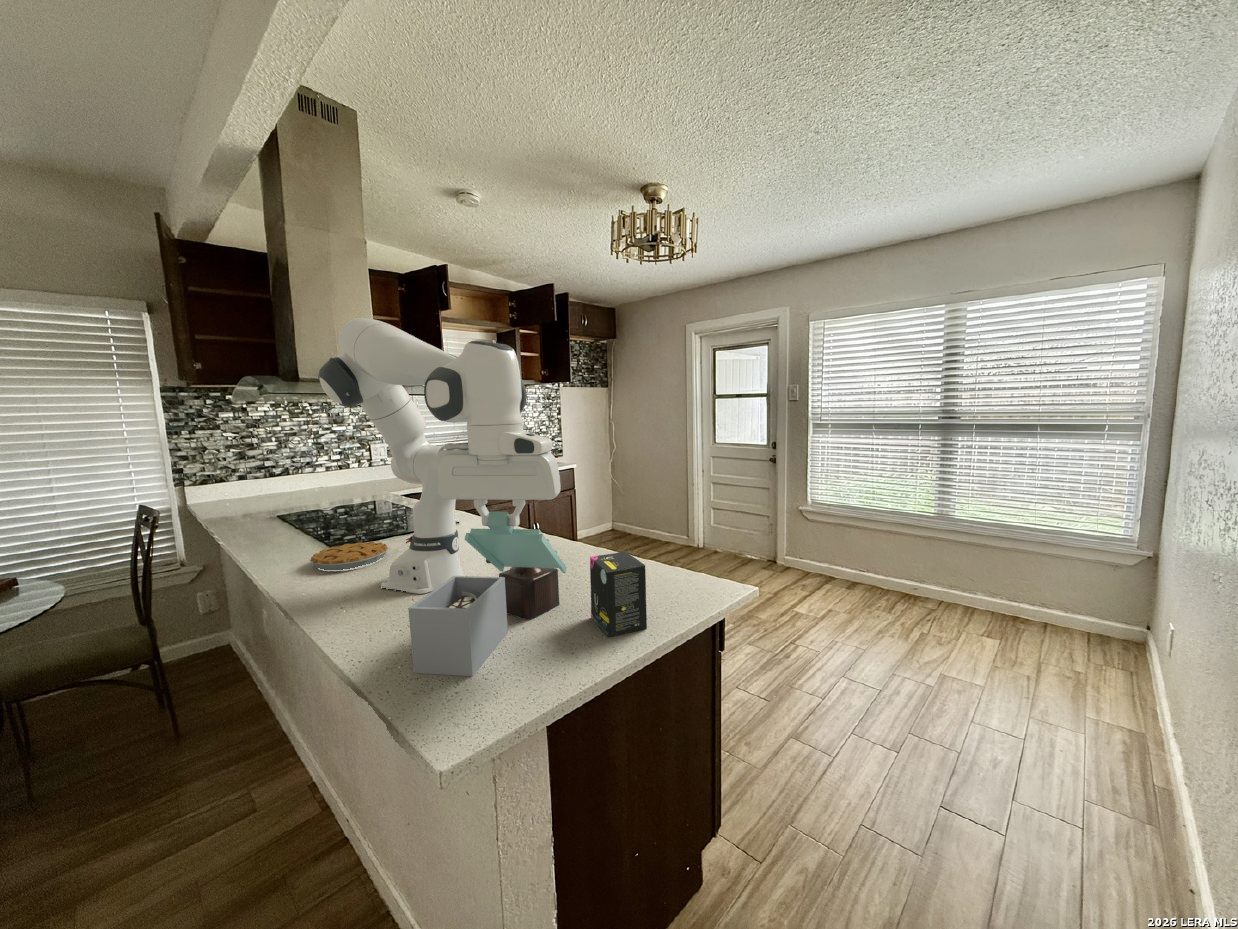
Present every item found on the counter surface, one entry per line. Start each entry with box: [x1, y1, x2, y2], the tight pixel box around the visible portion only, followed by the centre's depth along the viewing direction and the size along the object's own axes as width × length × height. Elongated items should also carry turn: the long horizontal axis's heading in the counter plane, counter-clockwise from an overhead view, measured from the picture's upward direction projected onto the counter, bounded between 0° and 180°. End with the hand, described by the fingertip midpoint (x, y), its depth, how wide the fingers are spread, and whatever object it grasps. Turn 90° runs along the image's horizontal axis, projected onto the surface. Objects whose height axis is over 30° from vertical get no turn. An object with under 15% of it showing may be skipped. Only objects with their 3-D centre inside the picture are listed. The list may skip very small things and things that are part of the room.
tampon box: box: [589, 551, 648, 638], centre depth 102 cm, size 11×9×15 cm
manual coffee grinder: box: [485, 558, 560, 621], centre depth 109 cm, size 16×11×18 cm
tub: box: [408, 575, 509, 677], centre depth 92 cm, size 12×17×12 cm
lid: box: [464, 510, 567, 574], centre depth 84 cm, size 14×21×3 cm
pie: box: [309, 541, 389, 570], centre depth 151 cm, size 22×22×5 cm
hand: (501, 525), depth 76 cm, fingers closed on lid, 3 cm apart
